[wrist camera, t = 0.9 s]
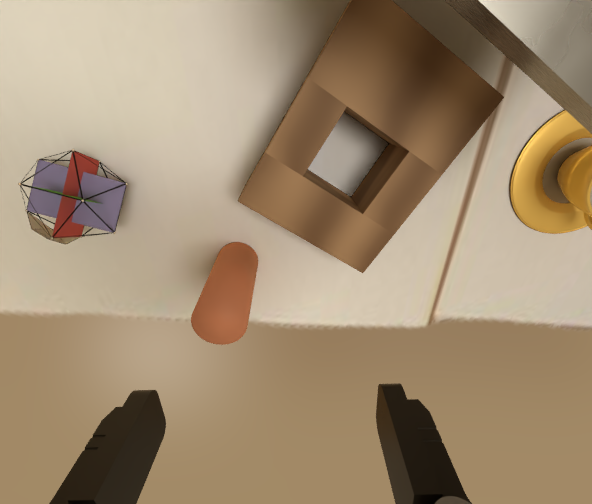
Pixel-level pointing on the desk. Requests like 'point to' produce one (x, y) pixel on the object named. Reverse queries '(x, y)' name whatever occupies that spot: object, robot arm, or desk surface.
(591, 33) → the grey metal bench
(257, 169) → the socket block
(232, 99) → the desk surface
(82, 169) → the geometric puzzle
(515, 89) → the desk surface
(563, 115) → the cup
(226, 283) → the peg
